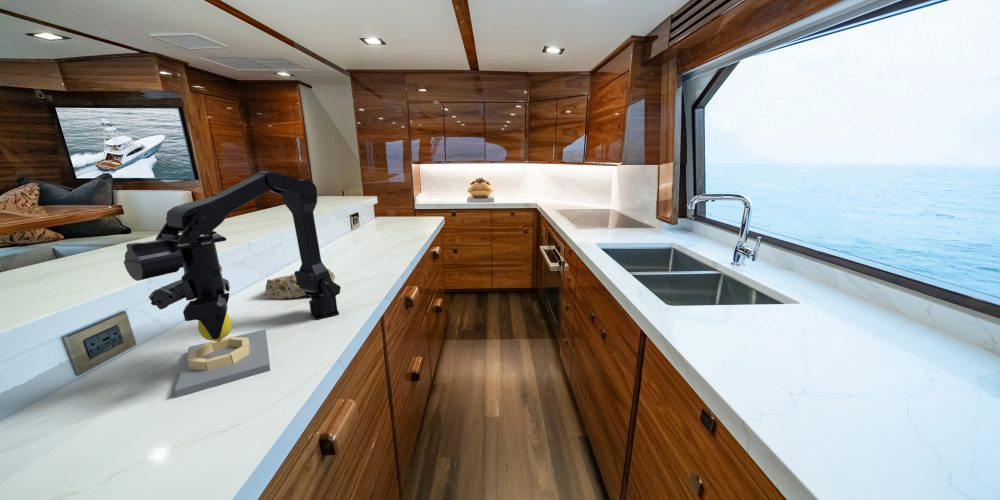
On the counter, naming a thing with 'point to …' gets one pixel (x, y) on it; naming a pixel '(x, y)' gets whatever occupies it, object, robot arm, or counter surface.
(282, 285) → the rock
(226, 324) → the lemon
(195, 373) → the plate
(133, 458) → the counter surface
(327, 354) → the counter surface
